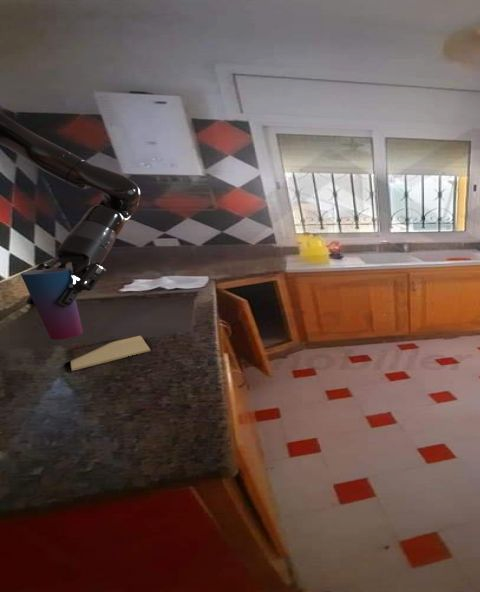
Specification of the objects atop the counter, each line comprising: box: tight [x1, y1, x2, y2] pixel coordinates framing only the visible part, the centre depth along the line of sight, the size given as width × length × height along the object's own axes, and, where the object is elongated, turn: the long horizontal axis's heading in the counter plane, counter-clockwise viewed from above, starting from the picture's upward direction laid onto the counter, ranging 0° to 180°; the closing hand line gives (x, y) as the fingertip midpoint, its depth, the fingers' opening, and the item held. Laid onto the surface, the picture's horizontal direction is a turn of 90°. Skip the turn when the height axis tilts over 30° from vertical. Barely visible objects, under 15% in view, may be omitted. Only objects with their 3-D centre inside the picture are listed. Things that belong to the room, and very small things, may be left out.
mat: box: [70, 335, 151, 372], centre depth 93 cm, size 16×16×1 cm
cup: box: [20, 268, 84, 341], centre depth 70 cm, size 7×7×15 cm
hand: (47, 305), depth 68 cm, fingers closed on cup, 6 cm apart
